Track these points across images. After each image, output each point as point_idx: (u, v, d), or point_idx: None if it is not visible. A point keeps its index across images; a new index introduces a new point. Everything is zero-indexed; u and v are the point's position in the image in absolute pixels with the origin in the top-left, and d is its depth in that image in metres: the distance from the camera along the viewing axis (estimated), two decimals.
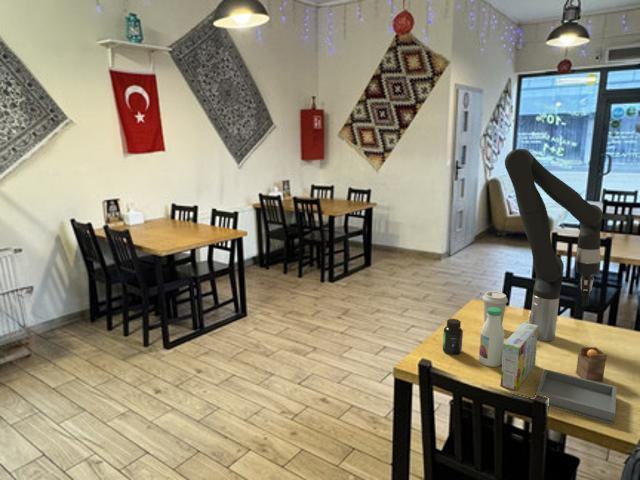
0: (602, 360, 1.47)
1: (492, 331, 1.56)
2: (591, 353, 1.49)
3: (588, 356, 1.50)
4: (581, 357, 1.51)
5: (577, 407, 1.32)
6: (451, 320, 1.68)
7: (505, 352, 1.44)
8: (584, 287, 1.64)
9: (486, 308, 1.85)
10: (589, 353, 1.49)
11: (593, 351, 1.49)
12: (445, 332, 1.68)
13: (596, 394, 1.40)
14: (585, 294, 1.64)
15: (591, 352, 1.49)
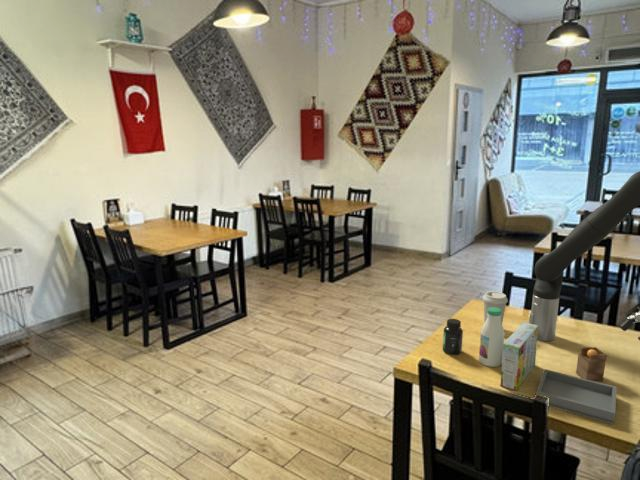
0: (602, 360, 1.47)
1: (492, 331, 1.56)
2: (591, 353, 1.49)
3: (588, 356, 1.50)
4: (581, 357, 1.51)
5: (577, 407, 1.32)
6: (451, 320, 1.68)
7: (505, 352, 1.44)
8: None
9: (486, 308, 1.85)
10: (589, 353, 1.49)
11: (593, 351, 1.49)
12: (445, 332, 1.68)
13: (596, 394, 1.40)
14: None
15: (591, 352, 1.49)
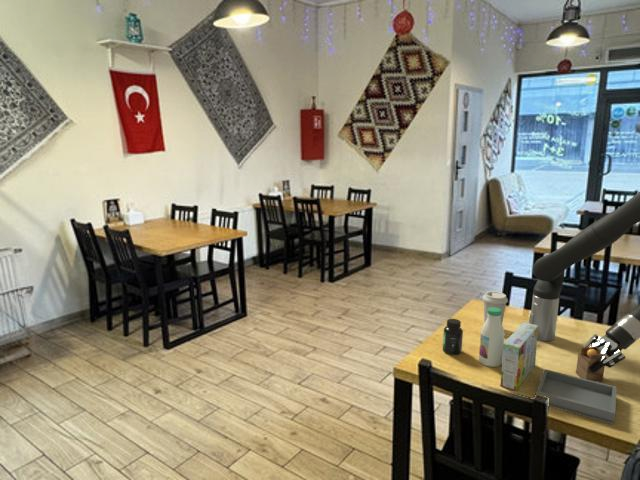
0: None
1: (492, 331, 1.56)
2: (591, 352, 1.49)
3: (588, 355, 1.50)
4: (581, 357, 1.51)
5: (577, 407, 1.32)
6: (451, 320, 1.68)
7: (505, 352, 1.44)
8: (615, 359, 1.43)
9: (486, 308, 1.85)
10: (589, 352, 1.49)
11: (593, 350, 1.49)
12: (445, 332, 1.68)
13: (596, 394, 1.40)
14: (609, 364, 1.44)
15: (591, 351, 1.49)
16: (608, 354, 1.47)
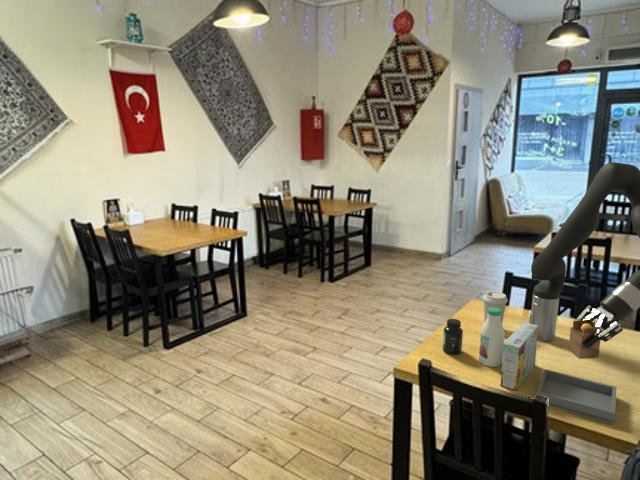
0: None
1: (492, 331, 1.56)
2: None
3: None
4: (574, 331, 1.35)
5: (577, 407, 1.32)
6: (451, 320, 1.68)
7: (505, 352, 1.44)
8: (611, 332, 1.28)
9: (486, 308, 1.85)
10: None
11: None
12: (445, 332, 1.68)
13: (596, 394, 1.40)
14: (604, 338, 1.29)
15: None
16: (603, 327, 1.31)
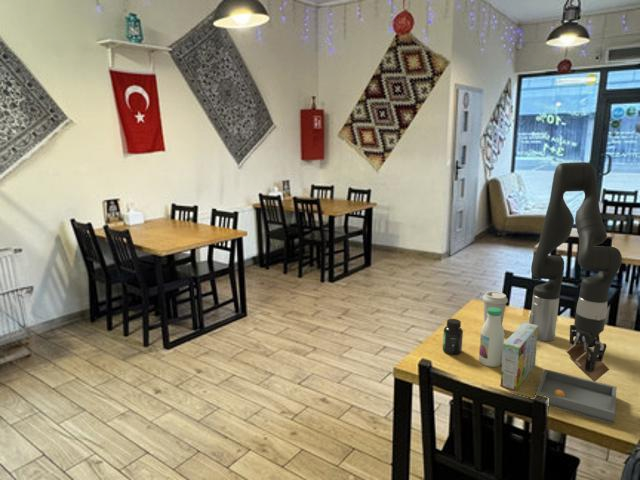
0: (591, 355, 1.33)
1: (492, 331, 1.56)
2: (560, 395, 1.36)
3: (554, 393, 1.38)
4: (573, 361, 1.37)
5: (577, 407, 1.32)
6: (451, 320, 1.68)
7: (505, 352, 1.44)
8: (599, 353, 1.29)
9: (486, 308, 1.85)
10: (559, 393, 1.37)
11: (563, 395, 1.36)
12: (445, 332, 1.68)
13: (596, 394, 1.40)
14: (598, 359, 1.30)
15: (561, 394, 1.36)
16: (592, 346, 1.32)
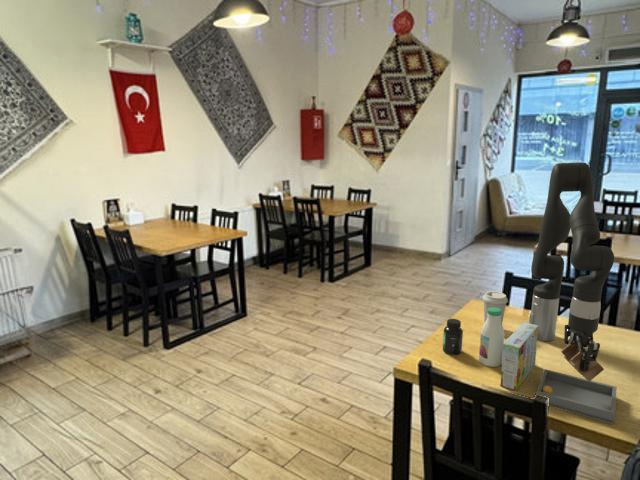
0: (585, 355, 1.33)
1: (492, 331, 1.56)
2: (547, 388, 1.39)
3: None
4: (568, 361, 1.37)
5: (577, 407, 1.32)
6: (451, 320, 1.68)
7: (505, 352, 1.44)
8: (592, 352, 1.29)
9: (486, 308, 1.85)
10: (546, 390, 1.39)
11: (545, 386, 1.40)
12: (445, 332, 1.68)
13: (596, 394, 1.40)
14: (591, 359, 1.30)
15: (546, 388, 1.39)
16: (586, 346, 1.32)
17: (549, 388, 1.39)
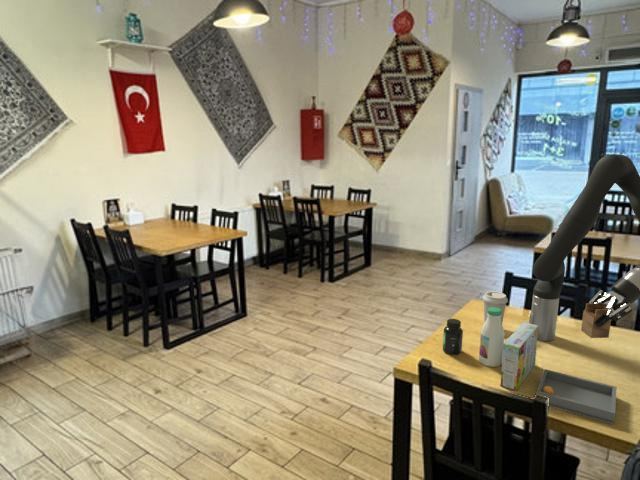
0: None
1: (492, 331, 1.56)
2: (548, 389, 1.39)
3: None
4: (586, 313, 1.48)
5: (577, 407, 1.32)
6: (451, 320, 1.68)
7: (505, 352, 1.44)
8: (621, 312, 1.40)
9: (486, 308, 1.85)
10: (547, 390, 1.38)
11: (546, 386, 1.39)
12: (445, 332, 1.68)
13: (596, 394, 1.40)
14: (615, 317, 1.41)
15: (547, 388, 1.39)
16: (614, 308, 1.44)
17: (550, 389, 1.39)
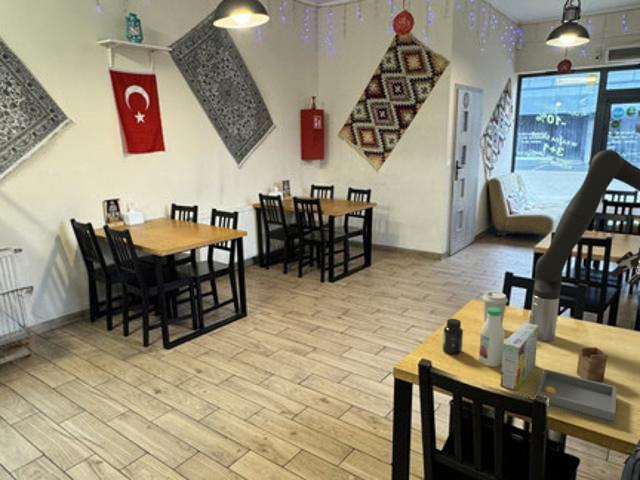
0: (603, 360, 1.47)
1: (492, 331, 1.56)
2: (551, 390, 1.38)
3: None
4: (582, 357, 1.51)
5: (577, 407, 1.32)
6: (451, 320, 1.68)
7: (505, 352, 1.44)
8: None
9: (486, 308, 1.85)
10: (550, 391, 1.38)
11: (550, 387, 1.39)
12: (445, 332, 1.68)
13: (596, 394, 1.40)
14: None
15: (551, 389, 1.38)
16: None
17: (554, 391, 1.38)
